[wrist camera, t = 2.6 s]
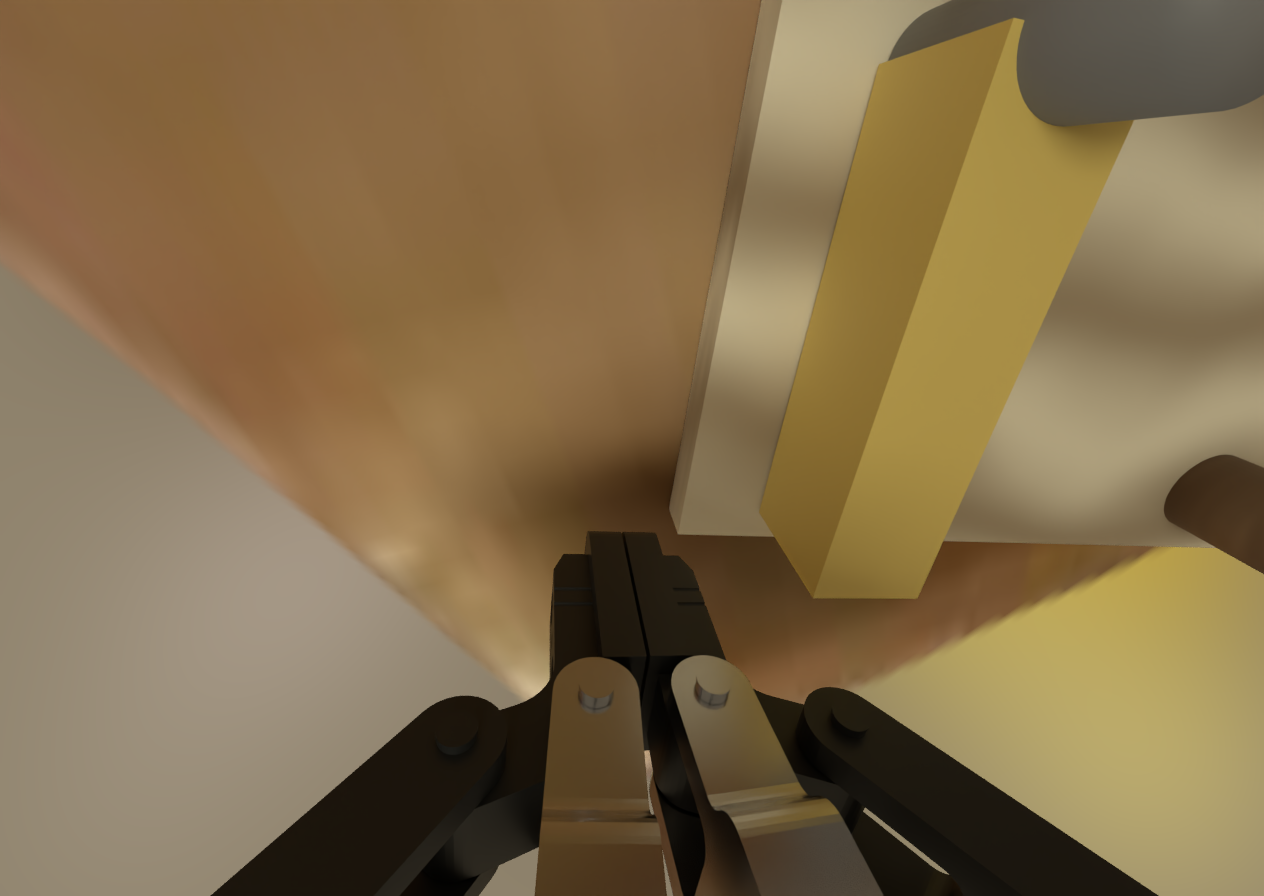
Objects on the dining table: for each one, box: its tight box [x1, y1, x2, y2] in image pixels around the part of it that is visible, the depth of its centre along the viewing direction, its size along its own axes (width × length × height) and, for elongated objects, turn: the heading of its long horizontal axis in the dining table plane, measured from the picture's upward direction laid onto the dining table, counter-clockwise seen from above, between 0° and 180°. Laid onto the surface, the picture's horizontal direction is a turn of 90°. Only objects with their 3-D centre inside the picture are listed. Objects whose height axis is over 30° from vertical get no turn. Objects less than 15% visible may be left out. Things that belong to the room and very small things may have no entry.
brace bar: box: [759, 0, 1264, 599], centre depth 12 cm, size 13×3×6 cm, turn 173°
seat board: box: [669, 0, 1264, 574], centre depth 14 cm, size 18×22×6 cm
